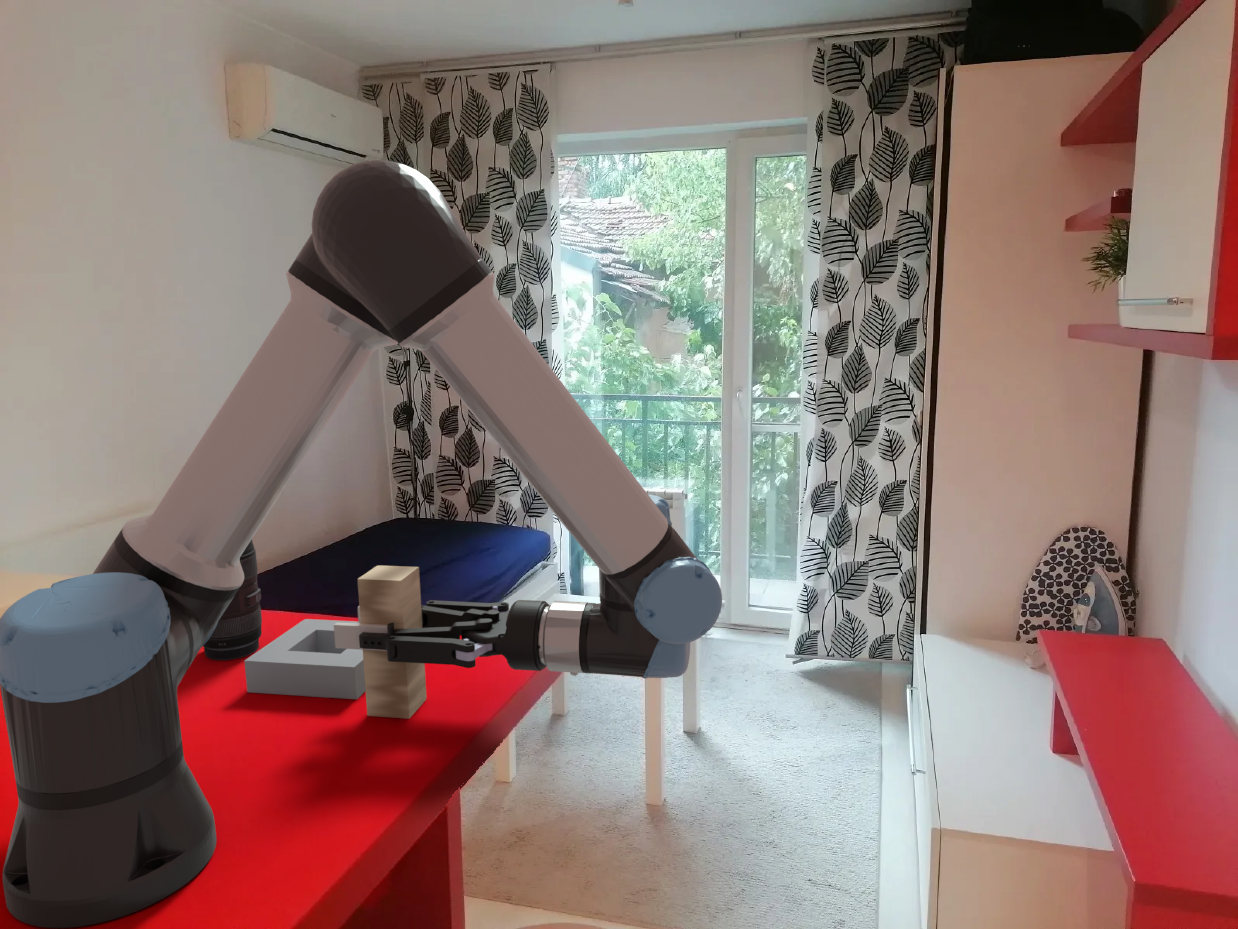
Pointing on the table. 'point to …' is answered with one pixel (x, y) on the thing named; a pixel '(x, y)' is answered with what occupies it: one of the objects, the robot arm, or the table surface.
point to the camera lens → (239, 617)
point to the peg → (386, 683)
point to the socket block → (307, 664)
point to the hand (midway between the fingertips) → (348, 626)
